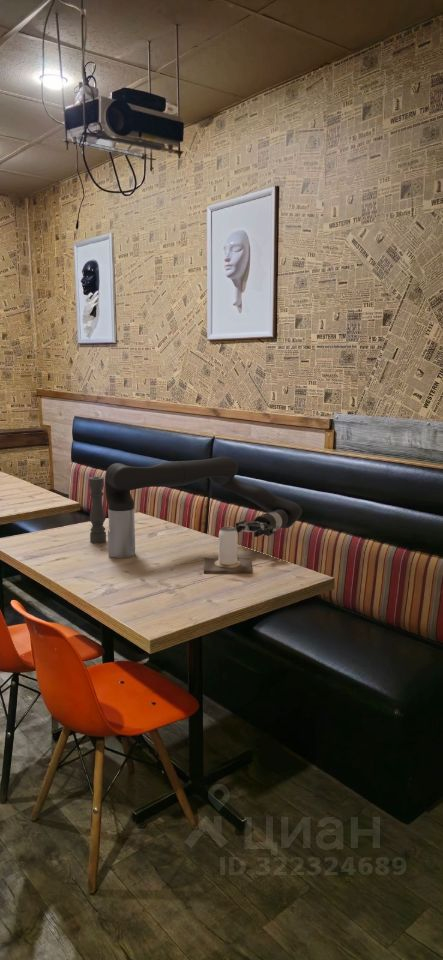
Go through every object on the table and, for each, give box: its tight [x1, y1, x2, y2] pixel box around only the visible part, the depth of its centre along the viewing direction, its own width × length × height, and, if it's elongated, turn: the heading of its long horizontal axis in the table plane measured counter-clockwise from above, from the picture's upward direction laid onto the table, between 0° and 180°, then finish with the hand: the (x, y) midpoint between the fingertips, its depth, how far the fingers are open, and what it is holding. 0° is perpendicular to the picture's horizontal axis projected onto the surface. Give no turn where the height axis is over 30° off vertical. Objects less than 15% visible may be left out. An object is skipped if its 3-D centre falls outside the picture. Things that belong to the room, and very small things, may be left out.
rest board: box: [203, 557, 253, 574], centre depth 229 cm, size 16×14×1 cm
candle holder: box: [88, 476, 107, 544], centre depth 258 cm, size 6×6×25 cm
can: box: [218, 526, 239, 565], centre depth 228 cm, size 6×6×12 cm
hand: (244, 532), depth 236 cm, fingers open, 8 cm apart
